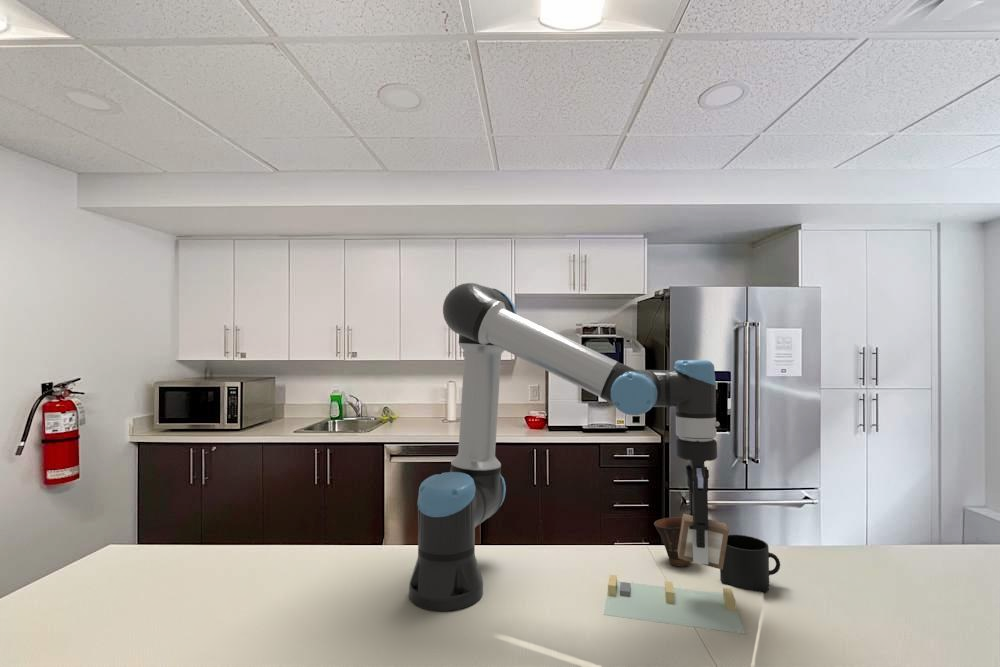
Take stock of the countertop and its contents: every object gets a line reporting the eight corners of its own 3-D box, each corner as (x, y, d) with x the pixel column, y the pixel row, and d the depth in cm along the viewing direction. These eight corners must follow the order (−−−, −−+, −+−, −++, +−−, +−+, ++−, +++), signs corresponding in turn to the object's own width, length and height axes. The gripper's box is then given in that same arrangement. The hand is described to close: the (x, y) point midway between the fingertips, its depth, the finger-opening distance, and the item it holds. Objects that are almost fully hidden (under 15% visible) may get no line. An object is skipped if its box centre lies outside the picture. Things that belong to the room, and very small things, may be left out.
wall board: (603, 620, 96) (603, 603, 96) (609, 585, 110) (609, 570, 110) (745, 639, 89) (744, 621, 89) (731, 599, 103) (731, 584, 104)
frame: (678, 558, 100) (684, 520, 100) (677, 550, 104) (683, 513, 104) (722, 570, 98) (728, 531, 98) (719, 560, 102) (725, 523, 102)
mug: (790, 597, 104) (789, 552, 105) (728, 594, 106) (727, 549, 106) (771, 577, 114) (770, 535, 114) (714, 574, 115) (714, 533, 116)
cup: (651, 554, 127) (651, 513, 127) (690, 556, 125) (689, 514, 126) (657, 569, 118) (657, 525, 118) (698, 571, 117) (698, 527, 117)
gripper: (723, 446, 93) (726, 578, 92) (711, 432, 110) (714, 543, 109) (679, 444, 95) (681, 574, 94) (674, 430, 112) (676, 540, 111)
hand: (699, 557), depth 101 cm, fingers closed on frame, 5 cm apart
